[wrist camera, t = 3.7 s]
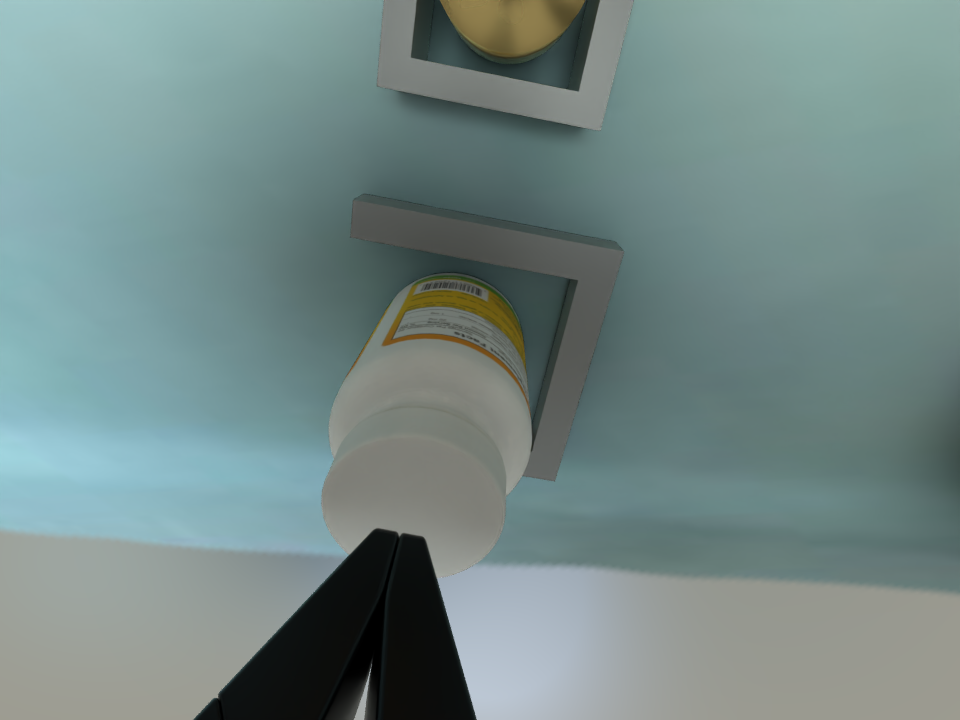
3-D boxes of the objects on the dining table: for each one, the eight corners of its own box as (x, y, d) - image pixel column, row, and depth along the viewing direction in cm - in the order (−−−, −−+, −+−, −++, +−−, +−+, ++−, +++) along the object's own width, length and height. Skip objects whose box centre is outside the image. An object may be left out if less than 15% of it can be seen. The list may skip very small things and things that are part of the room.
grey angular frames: (715, -97, 14) (778, -160, 11) (552, 460, 22) (560, 520, 19) (392, -168, 14) (358, -254, 10) (345, 424, 22) (317, 479, 18)
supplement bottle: (441, 422, 22) (397, 634, 13) (353, 322, 20) (233, 489, 11) (550, 353, 20) (587, 541, 11) (466, 239, 18) (432, 355, 9)
